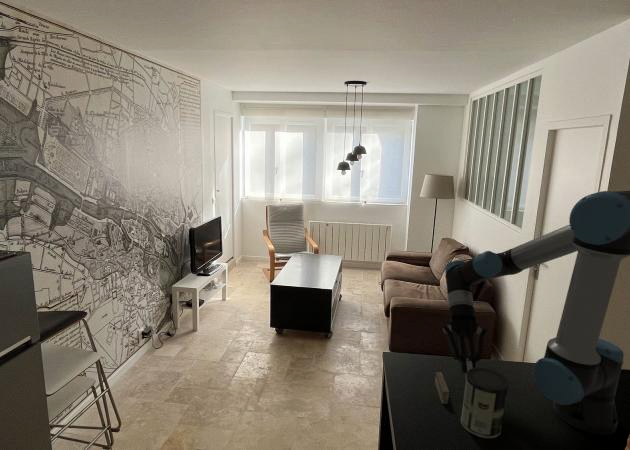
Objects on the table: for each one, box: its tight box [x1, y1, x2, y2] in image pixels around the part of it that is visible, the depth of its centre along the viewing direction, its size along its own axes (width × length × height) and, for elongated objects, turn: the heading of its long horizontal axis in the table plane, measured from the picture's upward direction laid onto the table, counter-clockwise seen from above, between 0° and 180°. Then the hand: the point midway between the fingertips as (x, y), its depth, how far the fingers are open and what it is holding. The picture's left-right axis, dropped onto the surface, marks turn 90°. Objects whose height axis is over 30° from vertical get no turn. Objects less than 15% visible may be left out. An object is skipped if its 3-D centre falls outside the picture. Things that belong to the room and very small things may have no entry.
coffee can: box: [460, 367, 510, 439], centre depth 107 cm, size 10×10×14 cm
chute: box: [434, 371, 450, 405], centre depth 121 cm, size 15×10×4 cm
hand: (470, 385), depth 115 cm, fingers closed
